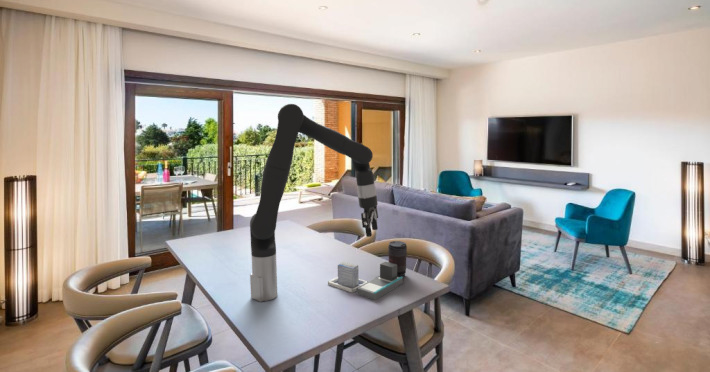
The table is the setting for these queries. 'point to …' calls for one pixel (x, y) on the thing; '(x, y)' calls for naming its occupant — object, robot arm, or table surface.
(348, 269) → the medicine box
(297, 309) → the table surface
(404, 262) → the camera lens
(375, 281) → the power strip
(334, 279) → the tray frame
